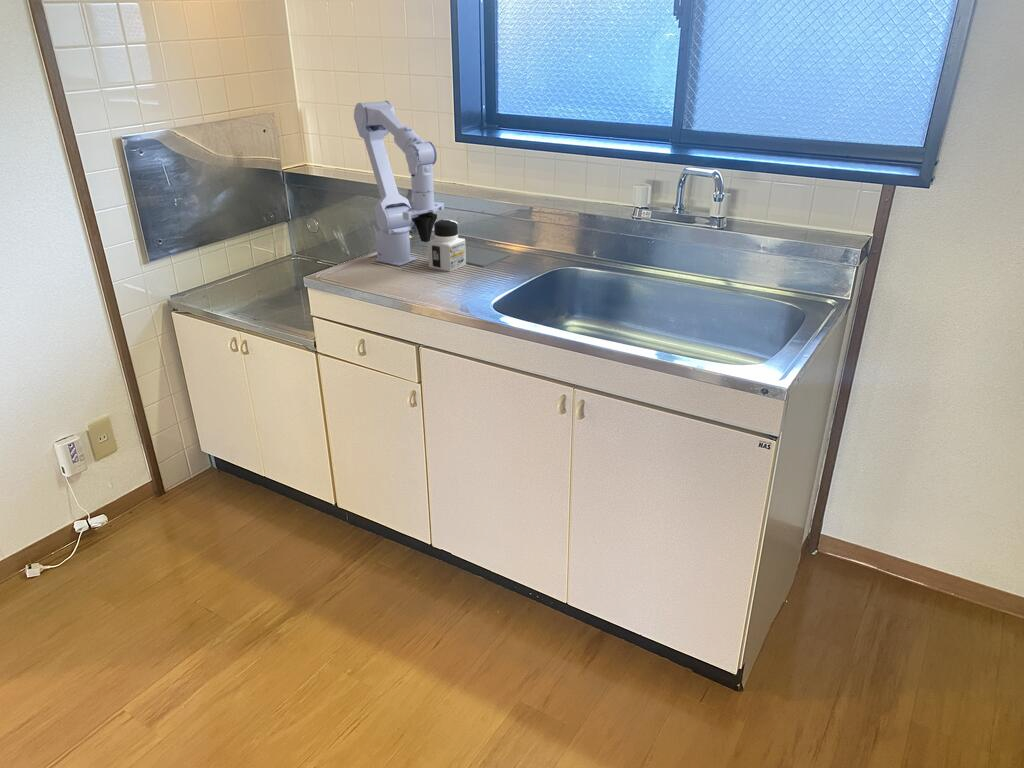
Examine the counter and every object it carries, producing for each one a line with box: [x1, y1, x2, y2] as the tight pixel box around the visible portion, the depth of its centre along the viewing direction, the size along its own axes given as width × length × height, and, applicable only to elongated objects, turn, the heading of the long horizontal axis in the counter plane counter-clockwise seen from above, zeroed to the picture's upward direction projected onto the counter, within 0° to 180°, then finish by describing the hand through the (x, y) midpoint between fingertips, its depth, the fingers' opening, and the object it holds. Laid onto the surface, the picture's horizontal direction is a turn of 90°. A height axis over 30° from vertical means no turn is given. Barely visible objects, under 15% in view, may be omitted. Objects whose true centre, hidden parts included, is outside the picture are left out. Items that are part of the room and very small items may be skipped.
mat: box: [465, 245, 511, 268], centre depth 229 cm, size 18×13×1 cm
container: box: [427, 219, 467, 273], centre depth 217 cm, size 8×8×13 cm
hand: (425, 241), depth 209 cm, fingers closed
